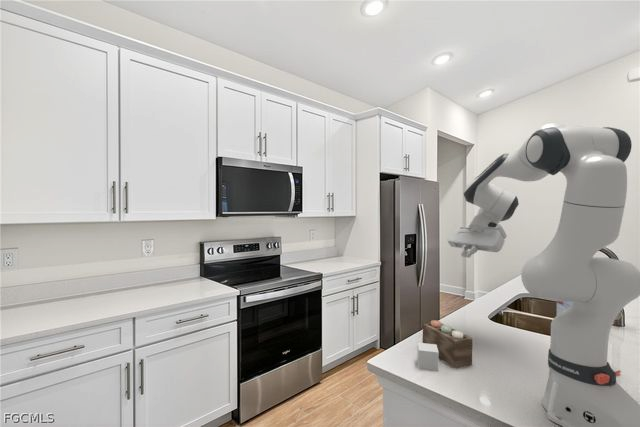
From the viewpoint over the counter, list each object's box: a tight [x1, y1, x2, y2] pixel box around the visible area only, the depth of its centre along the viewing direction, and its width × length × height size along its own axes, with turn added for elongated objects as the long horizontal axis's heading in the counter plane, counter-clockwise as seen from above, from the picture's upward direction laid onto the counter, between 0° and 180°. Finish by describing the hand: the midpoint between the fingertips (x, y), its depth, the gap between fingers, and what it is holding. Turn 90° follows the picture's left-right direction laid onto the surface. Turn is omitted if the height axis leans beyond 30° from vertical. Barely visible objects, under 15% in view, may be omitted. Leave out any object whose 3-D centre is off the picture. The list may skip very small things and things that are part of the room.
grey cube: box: [416, 342, 440, 372], centre depth 103 cm, size 6×6×6 cm
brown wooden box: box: [422, 322, 473, 370], centre depth 110 cm, size 16×7×9 cm, turn 20°
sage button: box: [441, 324, 453, 333], centre depth 110 cm, size 3×3×2 cm
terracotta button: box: [430, 319, 442, 328], centre depth 114 cm, size 3×3×2 cm
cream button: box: [452, 330, 464, 340], centre depth 105 cm, size 3×3×2 cm
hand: (465, 256), depth 118 cm, fingers closed
